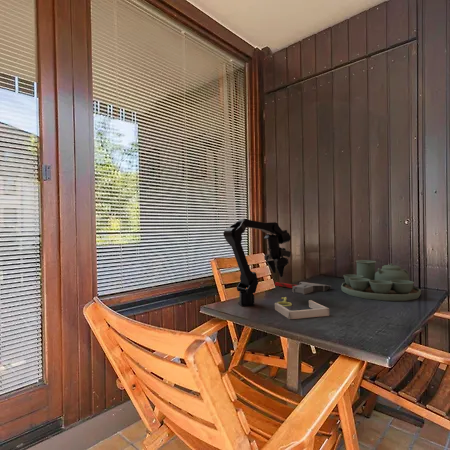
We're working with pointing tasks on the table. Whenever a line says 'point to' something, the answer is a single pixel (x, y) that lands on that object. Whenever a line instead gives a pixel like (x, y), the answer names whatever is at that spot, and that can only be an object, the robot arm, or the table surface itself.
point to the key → (285, 302)
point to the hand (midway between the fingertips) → (277, 274)
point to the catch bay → (304, 311)
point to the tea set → (380, 283)
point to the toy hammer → (304, 287)
